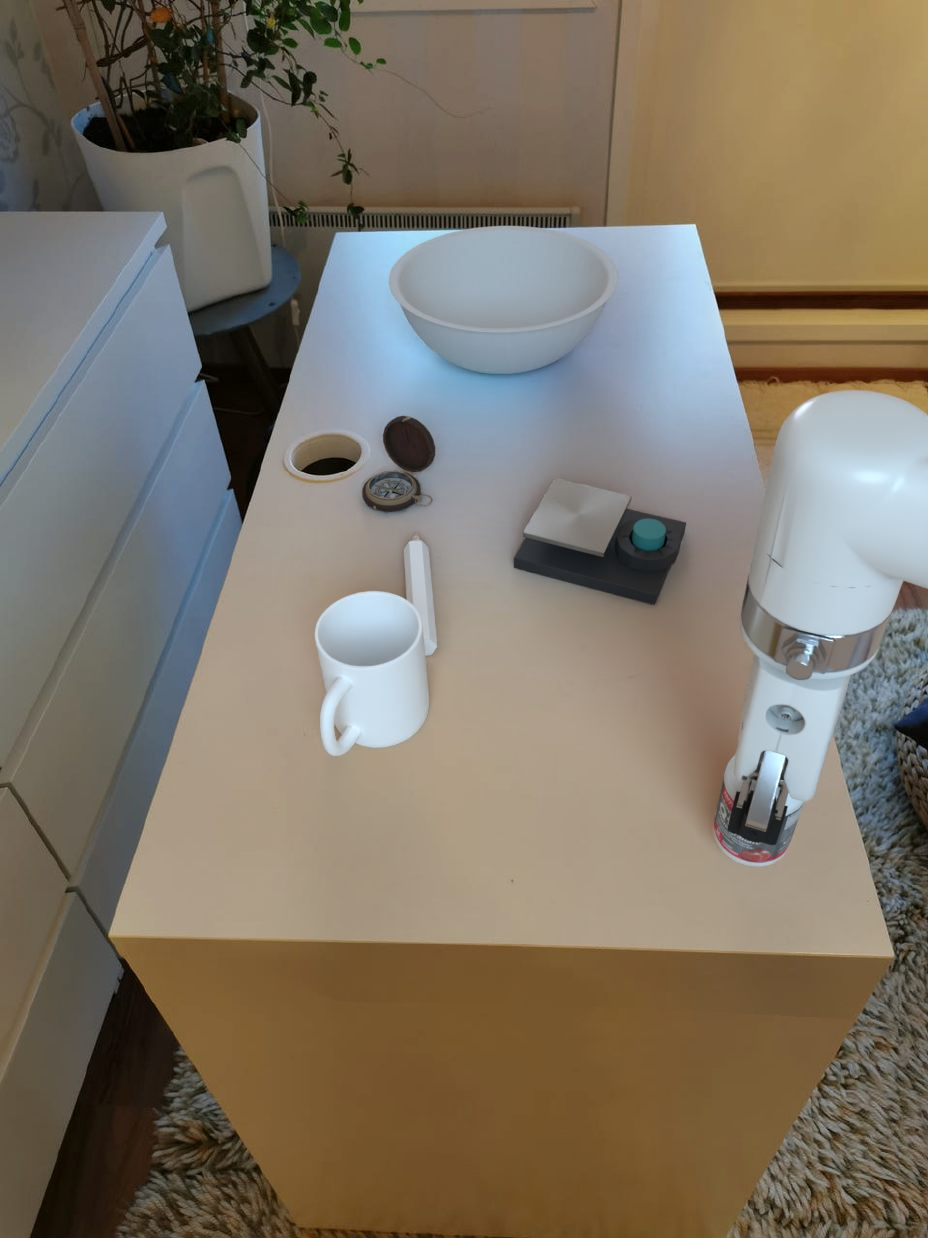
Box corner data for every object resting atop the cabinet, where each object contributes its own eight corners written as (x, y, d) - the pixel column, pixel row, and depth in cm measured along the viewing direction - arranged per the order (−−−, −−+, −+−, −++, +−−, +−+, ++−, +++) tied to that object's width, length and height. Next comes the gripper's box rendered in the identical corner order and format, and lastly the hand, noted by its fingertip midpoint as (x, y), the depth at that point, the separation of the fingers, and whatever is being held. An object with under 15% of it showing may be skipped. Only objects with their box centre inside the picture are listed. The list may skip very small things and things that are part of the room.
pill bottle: (699, 847, 68) (717, 766, 61) (729, 793, 71) (748, 709, 64) (773, 882, 66) (799, 802, 59) (800, 825, 69) (828, 742, 62)
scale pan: (631, 500, 93) (632, 495, 93) (603, 557, 88) (604, 552, 87) (554, 482, 96) (554, 477, 95) (522, 537, 90) (522, 532, 90)
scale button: (667, 535, 91) (669, 522, 90) (659, 554, 89) (661, 542, 88) (637, 527, 92) (638, 515, 90) (628, 546, 90) (629, 534, 89)
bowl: (623, 407, 111) (631, 328, 103) (389, 413, 111) (381, 335, 104) (600, 295, 130) (605, 222, 123) (401, 301, 130) (394, 228, 123)
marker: (417, 543, 96) (428, 659, 85) (398, 537, 95) (406, 653, 84) (429, 525, 95) (441, 640, 83) (410, 518, 94) (419, 634, 82)
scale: (689, 534, 95) (693, 510, 93) (659, 606, 88) (663, 583, 86) (551, 501, 99) (552, 478, 97) (513, 568, 92) (513, 544, 90)
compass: (351, 503, 100) (342, 446, 95) (392, 463, 104) (386, 406, 99) (415, 527, 97) (410, 469, 92) (455, 484, 101) (452, 427, 96)
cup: (446, 691, 81) (440, 607, 74) (380, 800, 74) (366, 719, 67) (362, 663, 84) (348, 579, 77) (289, 765, 77) (266, 683, 69)
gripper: (865, 748, 46) (795, 927, 58) (902, 530, 56) (836, 721, 69) (708, 706, 48) (674, 886, 61) (773, 504, 59) (732, 694, 72)
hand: (761, 797), depth 65 cm, fingers closed on pill bottle, 5 cm apart
